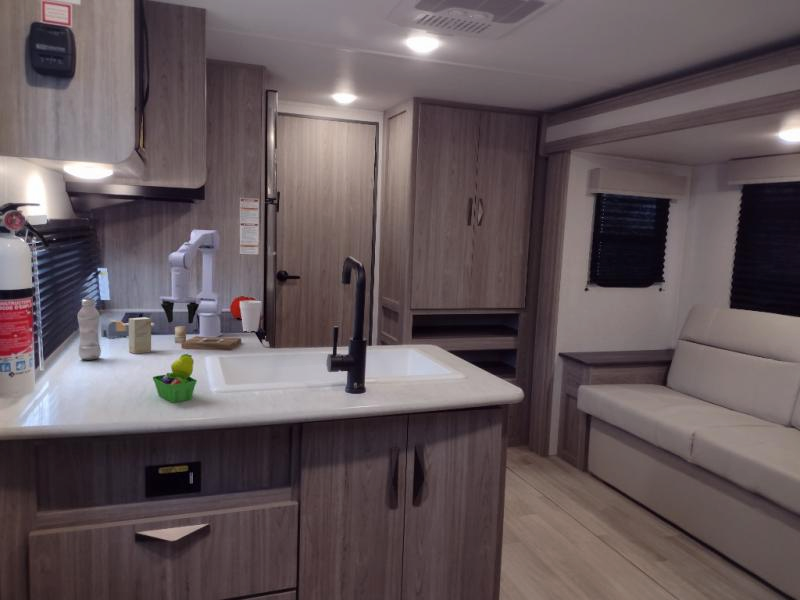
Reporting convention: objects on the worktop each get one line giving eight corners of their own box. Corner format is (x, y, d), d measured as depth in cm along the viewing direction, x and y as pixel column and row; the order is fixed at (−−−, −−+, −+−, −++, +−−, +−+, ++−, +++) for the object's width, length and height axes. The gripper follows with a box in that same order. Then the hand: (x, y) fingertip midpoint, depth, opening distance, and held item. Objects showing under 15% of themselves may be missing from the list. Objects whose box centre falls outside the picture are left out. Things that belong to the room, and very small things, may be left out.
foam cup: (239, 329, 254) (239, 300, 253) (260, 328, 257) (260, 300, 255) (240, 332, 245) (240, 303, 244) (261, 332, 248) (262, 303, 246)
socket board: (196, 341, 223) (196, 335, 223) (241, 343, 223) (241, 337, 223) (181, 348, 210) (181, 342, 209) (229, 350, 209) (229, 344, 209)
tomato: (262, 320, 281) (262, 297, 280) (233, 321, 274) (233, 297, 272) (254, 316, 292) (255, 294, 291) (227, 317, 285) (227, 294, 284)
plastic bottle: (91, 362, 183) (90, 301, 181) (73, 360, 185) (71, 299, 182) (105, 358, 190) (104, 299, 187) (88, 356, 191) (86, 297, 189)
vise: (110, 340, 221) (110, 323, 220) (99, 336, 227) (98, 319, 227) (155, 334, 235) (155, 318, 234) (143, 331, 241) (142, 315, 241)
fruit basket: (151, 395, 150) (150, 353, 149) (184, 389, 156) (183, 349, 155) (169, 405, 142) (168, 361, 141) (202, 399, 148) (202, 356, 147)
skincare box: (134, 354, 197) (134, 319, 196) (128, 352, 200) (127, 318, 198) (152, 351, 202) (151, 318, 201) (145, 349, 205) (145, 316, 203)
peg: (177, 341, 223) (177, 326, 222) (187, 341, 223) (187, 326, 222) (173, 343, 219) (172, 327, 218) (183, 343, 218) (183, 328, 218)
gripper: (155, 285, 201) (155, 323, 202) (194, 287, 200) (195, 325, 201) (164, 283, 208) (165, 320, 209) (203, 285, 207) (203, 322, 208)
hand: (180, 322), depth 206 cm, fingers open, 7 cm apart
